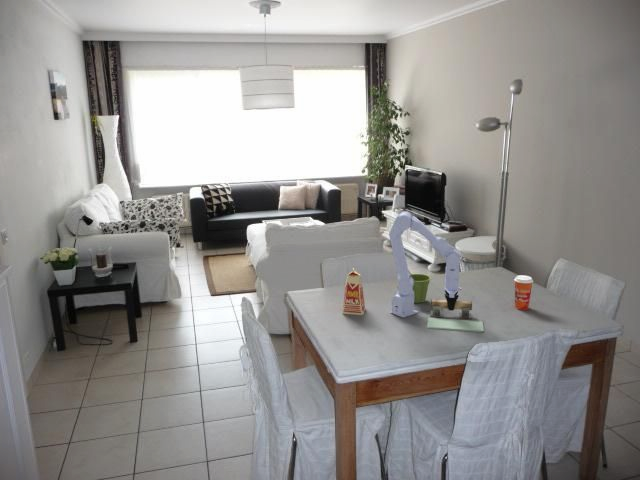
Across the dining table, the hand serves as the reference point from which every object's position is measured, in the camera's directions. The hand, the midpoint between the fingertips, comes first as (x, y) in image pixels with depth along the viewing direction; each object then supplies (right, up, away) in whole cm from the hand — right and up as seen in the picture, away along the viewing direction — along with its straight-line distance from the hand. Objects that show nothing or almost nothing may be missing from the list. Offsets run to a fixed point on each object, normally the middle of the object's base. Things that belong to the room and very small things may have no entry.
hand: (450, 308), depth 226 cm
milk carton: (-41, -3, +9) cm, 42 cm away
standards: (0, -3, +1) cm, 3 cm away
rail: (0, 0, 0) cm, 0 cm away
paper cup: (+33, -1, +8) cm, 34 cm away
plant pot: (-11, +1, +20) cm, 22 cm away
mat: (-1, -6, -9) cm, 11 cm away
